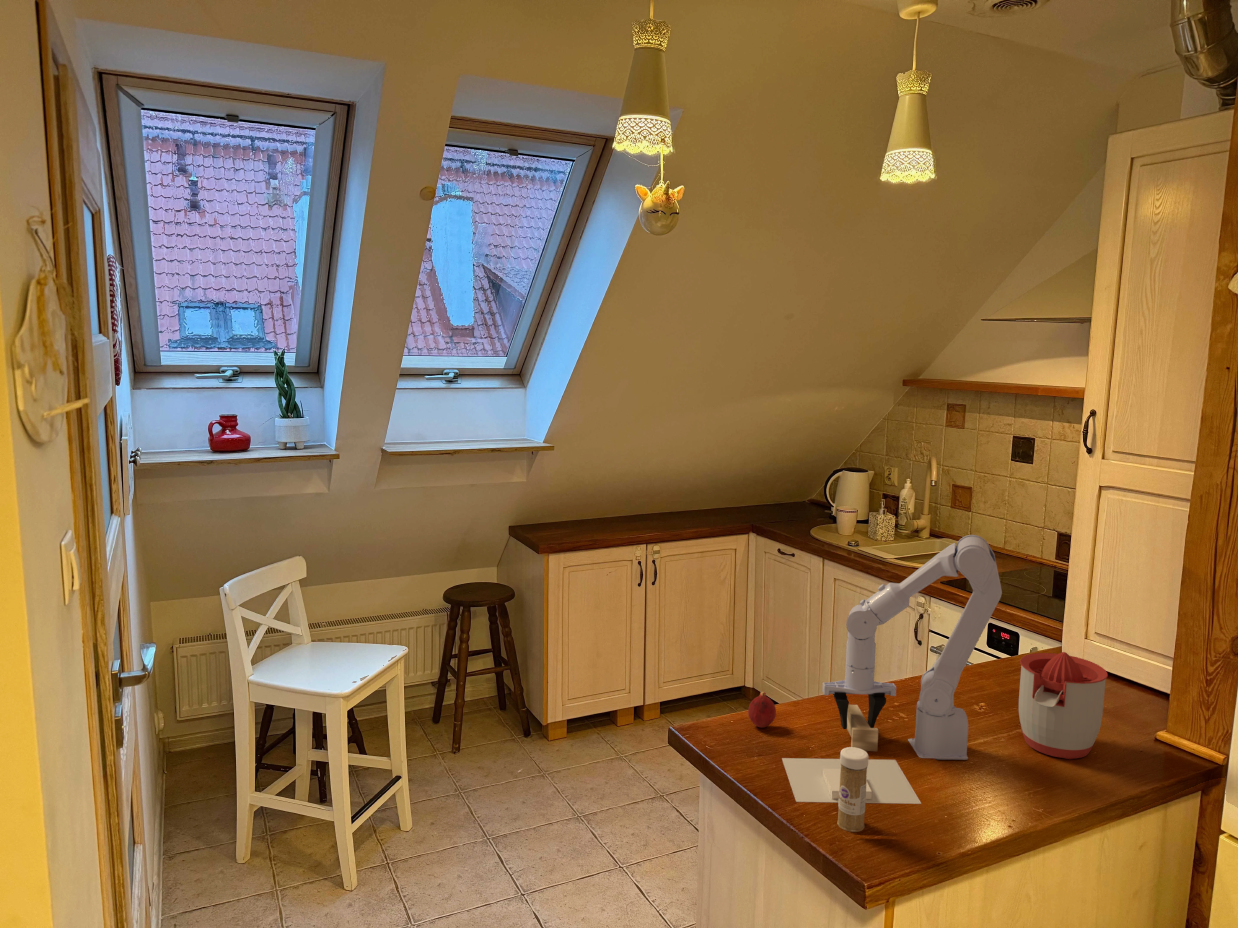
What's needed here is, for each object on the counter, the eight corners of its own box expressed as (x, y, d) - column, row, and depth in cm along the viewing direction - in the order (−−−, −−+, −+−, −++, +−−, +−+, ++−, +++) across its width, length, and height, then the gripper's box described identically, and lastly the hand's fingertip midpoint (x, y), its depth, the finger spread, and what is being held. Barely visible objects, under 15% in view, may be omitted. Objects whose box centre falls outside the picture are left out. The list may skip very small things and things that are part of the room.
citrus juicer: (998, 749, 176) (1005, 654, 173) (1030, 722, 188) (1037, 633, 185) (1082, 777, 165) (1091, 675, 162) (1111, 746, 177) (1119, 652, 174)
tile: (860, 769, 163) (871, 791, 155) (860, 777, 163) (871, 799, 155) (822, 768, 163) (832, 790, 155) (822, 776, 164) (831, 798, 156)
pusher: (862, 727, 185) (863, 704, 185) (877, 753, 174) (878, 729, 173) (838, 726, 186) (839, 704, 185) (851, 752, 174) (852, 729, 173)
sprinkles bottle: (832, 827, 147) (835, 752, 145) (844, 816, 151) (847, 743, 149) (857, 837, 145) (861, 761, 143) (869, 826, 148) (873, 751, 146)
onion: (775, 735, 181) (776, 699, 180) (747, 733, 182) (748, 696, 181) (775, 723, 187) (776, 687, 186) (748, 721, 188) (749, 685, 187)
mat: (895, 762, 170) (895, 759, 170) (921, 806, 154) (921, 803, 154) (781, 760, 171) (781, 757, 171) (796, 803, 155) (796, 801, 155)
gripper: (890, 657, 182) (887, 719, 184) (820, 656, 182) (817, 718, 184) (900, 670, 175) (897, 734, 177) (827, 669, 175) (824, 733, 177)
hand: (857, 727), depth 180 cm, fingers open, 5 cm apart
